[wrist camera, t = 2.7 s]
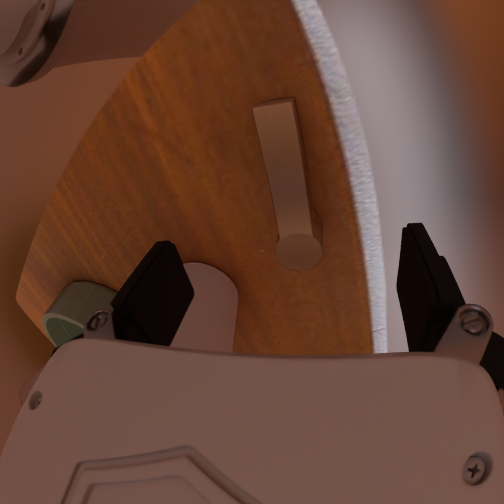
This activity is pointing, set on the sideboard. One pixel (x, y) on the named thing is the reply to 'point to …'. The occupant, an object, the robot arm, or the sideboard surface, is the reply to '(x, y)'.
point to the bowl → (74, 310)
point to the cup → (208, 311)
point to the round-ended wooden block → (289, 184)
